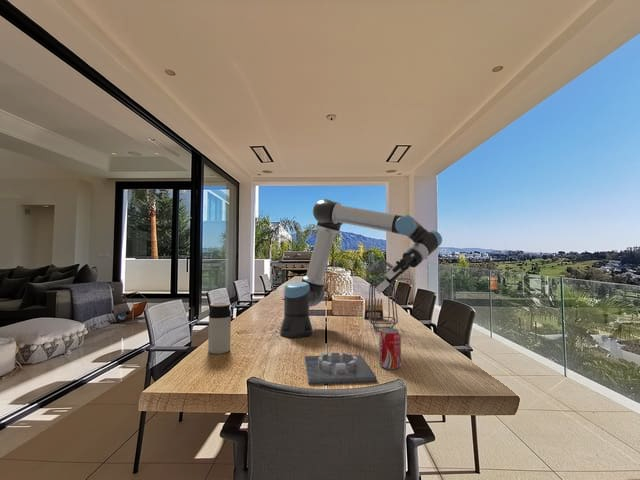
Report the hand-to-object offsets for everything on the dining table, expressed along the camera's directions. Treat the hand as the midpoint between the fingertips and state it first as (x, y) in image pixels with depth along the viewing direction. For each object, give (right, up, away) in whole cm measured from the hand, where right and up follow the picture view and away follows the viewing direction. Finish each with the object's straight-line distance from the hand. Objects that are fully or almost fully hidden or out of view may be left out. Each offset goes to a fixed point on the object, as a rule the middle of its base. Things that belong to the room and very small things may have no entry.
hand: (382, 284), depth 125 cm
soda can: (-1, -25, -19) cm, 31 cm away
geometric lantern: (+6, -27, +32) cm, 42 cm away
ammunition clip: (+6, -28, +57) cm, 64 cm away
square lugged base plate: (-19, -25, -23) cm, 38 cm away
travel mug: (-63, -25, -4) cm, 68 cm away
